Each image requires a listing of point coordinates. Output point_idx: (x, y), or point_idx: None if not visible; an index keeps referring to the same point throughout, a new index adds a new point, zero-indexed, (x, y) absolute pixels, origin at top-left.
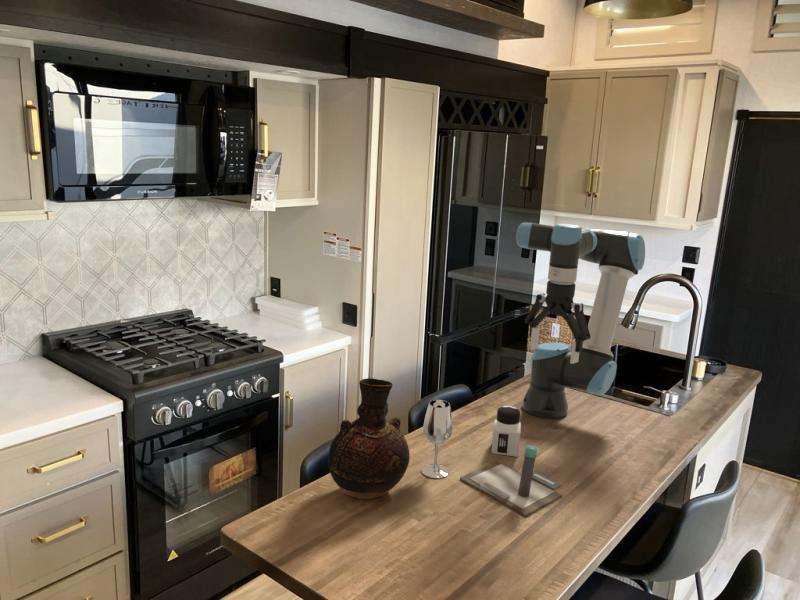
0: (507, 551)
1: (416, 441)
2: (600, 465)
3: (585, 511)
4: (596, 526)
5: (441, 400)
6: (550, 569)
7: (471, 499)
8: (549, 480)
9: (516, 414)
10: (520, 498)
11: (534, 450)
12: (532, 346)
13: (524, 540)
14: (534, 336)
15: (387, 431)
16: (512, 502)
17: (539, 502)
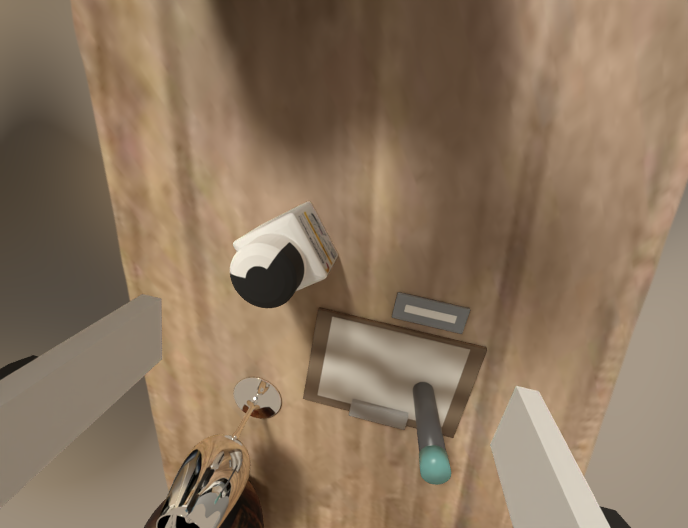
0: (465, 511)
1: None
2: (525, 154)
3: (544, 366)
4: (576, 398)
5: (168, 514)
6: None
7: (354, 434)
8: (442, 311)
9: (293, 288)
10: None
11: (447, 479)
12: (142, 374)
13: (476, 482)
14: (72, 425)
15: None
16: None
17: (458, 394)
